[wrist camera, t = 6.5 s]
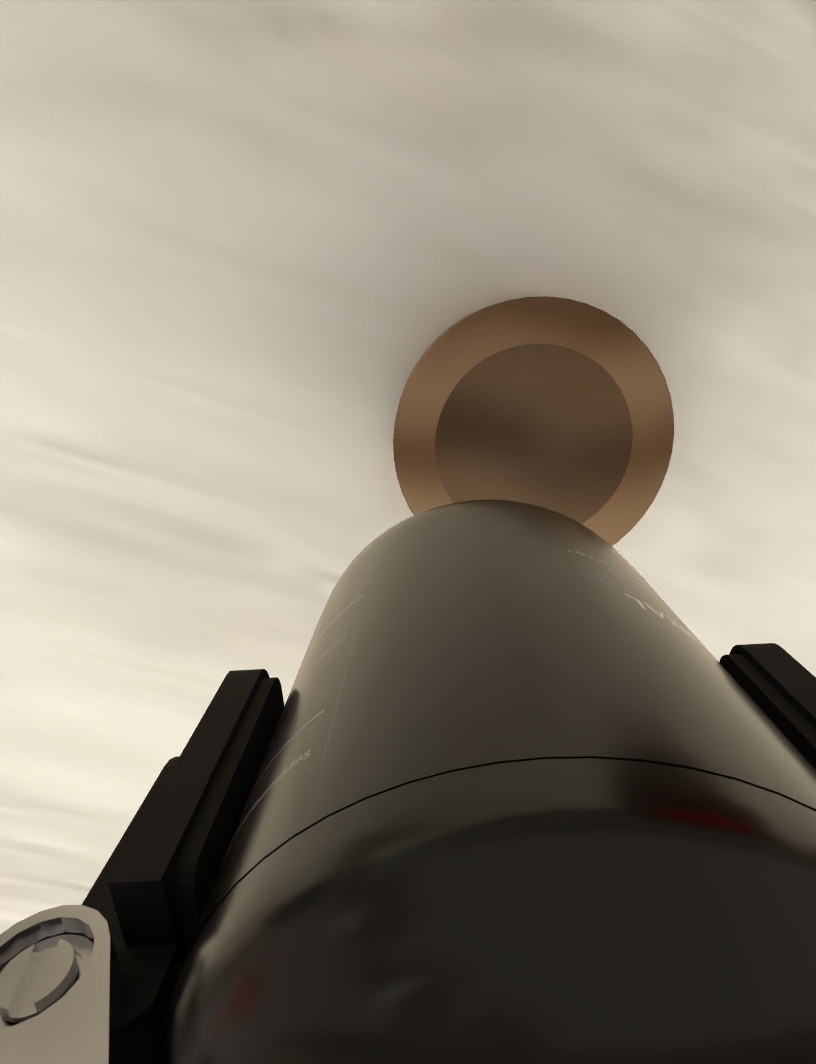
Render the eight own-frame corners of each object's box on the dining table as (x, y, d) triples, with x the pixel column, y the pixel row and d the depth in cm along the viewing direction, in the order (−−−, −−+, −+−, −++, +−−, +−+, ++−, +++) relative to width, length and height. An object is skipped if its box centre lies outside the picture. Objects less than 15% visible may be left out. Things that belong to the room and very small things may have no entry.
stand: (381, 314, 26) (378, 313, 24) (660, 284, 26) (681, 280, 24) (408, 569, 30) (407, 586, 28) (652, 548, 30) (670, 564, 28)
